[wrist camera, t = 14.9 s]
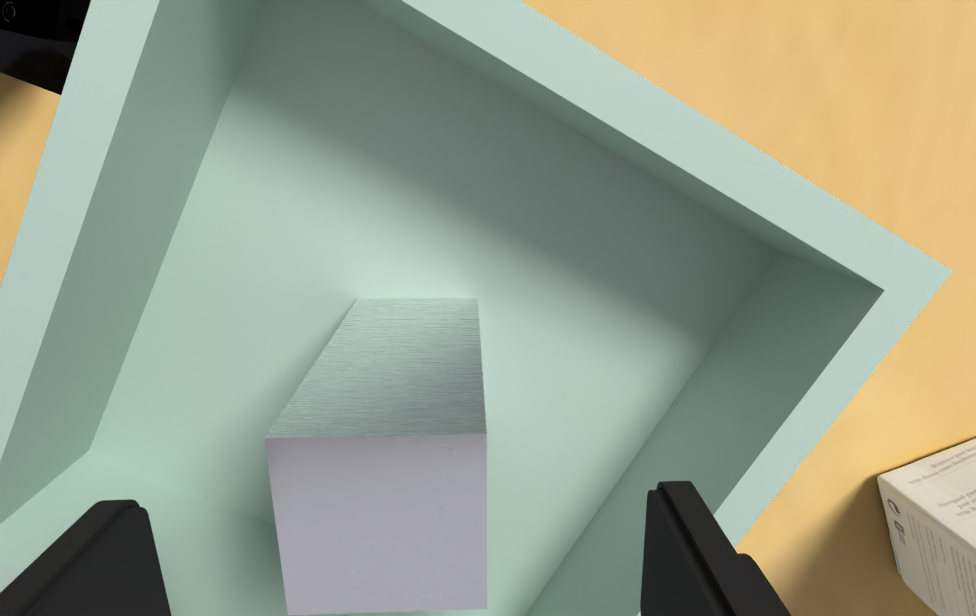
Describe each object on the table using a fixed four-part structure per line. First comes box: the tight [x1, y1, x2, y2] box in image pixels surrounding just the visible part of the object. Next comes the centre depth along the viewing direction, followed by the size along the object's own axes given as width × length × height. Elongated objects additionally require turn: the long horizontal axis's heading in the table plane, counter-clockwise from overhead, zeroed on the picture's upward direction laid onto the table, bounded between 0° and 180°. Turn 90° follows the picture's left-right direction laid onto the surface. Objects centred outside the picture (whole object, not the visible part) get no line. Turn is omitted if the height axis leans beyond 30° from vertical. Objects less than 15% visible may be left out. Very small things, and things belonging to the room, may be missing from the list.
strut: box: [264, 298, 487, 615], centre depth 15 cm, size 4×4×9 cm
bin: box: [0, 0, 953, 616], centre depth 17 cm, size 20×20×6 cm
